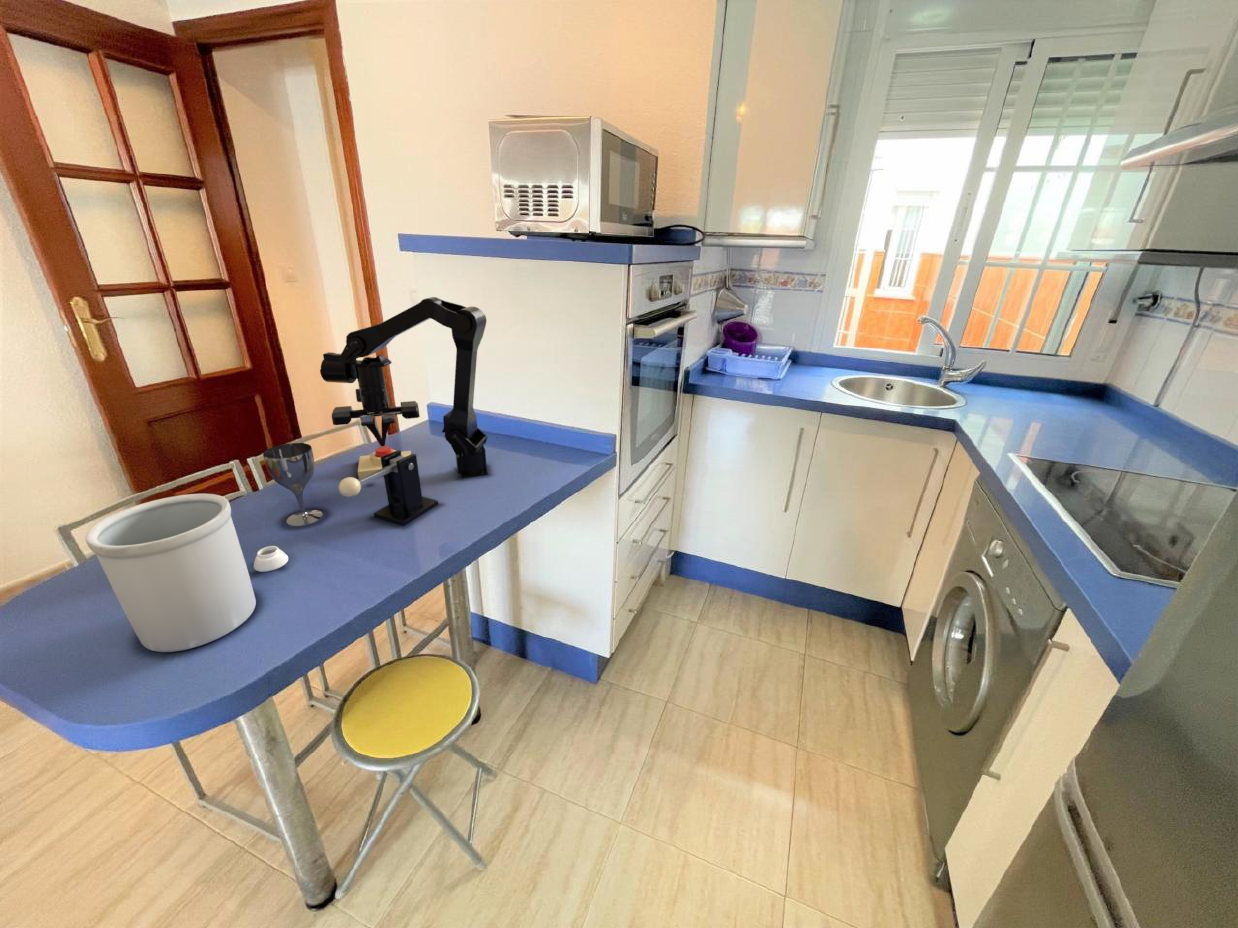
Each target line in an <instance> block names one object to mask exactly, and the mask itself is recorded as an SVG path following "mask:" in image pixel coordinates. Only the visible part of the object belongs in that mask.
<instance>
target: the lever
mask: <svg viewBox="0 0 1238 928" xmlns="http://www.w3.org/2000/svg"><path fill="white" fill-rule="evenodd" d="M402 458H404V456H398V457H396V458H393V459H391V460H390V465H389V466H386V467H384V468H382V469H380V470H378V471H375V472H373V473H371V474H369V475H366V476H364V477H362V478H358V479H357V478H355V477H351V476H349V477H345V478H343V479H341V480H340V482H339V483H338V491H339V493H340V494H341V495H342V496H344V497H347V498H353V497H355V496H357V495H358V494H359V493H360V492H361V490H362V486H364V485H366V484H368V483H370V482H373V481H374V480H377V479H379V478H381V477H384V475H386V474H388V473H390V472H392V471H393V472H398V470H397V464H396V461H398V460H400V459H402Z"/></svg>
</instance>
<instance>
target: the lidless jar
mask: <svg viewBox="0 0 1238 928" xmlns="http://www.w3.org/2000/svg"><path fill="white" fill-rule="evenodd" d="M288 562H289V555H287V554H286V553H285V552H284V551H283V550H282V549H280V548H279V547H278V546H276V545H269V546H268V545H267V546H265V547H262V548H261V549H259V550H258V551H257V553H256V556H255V559H254V563H253V569H254V571H257V572H261V573H262V572H270V571H275V570H277V569H280V568H282V567H283V566H285V565H286V564H287V563H288Z"/></svg>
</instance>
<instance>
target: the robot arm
mask: <svg viewBox="0 0 1238 928" xmlns="http://www.w3.org/2000/svg"><path fill="white" fill-rule="evenodd" d="M430 319H431V320H433V321H435V322H436V323H439V324H440V325H441V326H443V327H446V328H448V329H451V337H452V341H453V343H454V345H455V348H456V355H455V369H454V370H455V371H454V385H453V386H454V387H453V406H452V409H450V411H448V412H447V413H445V414H444V415H443V416H442V417H443V418H442V420H443V421H442V422H443V429H442V431H441V433H442V434H444V438H445V441H446V442H447V443H448V444H449V445H450V446H451V448H452V450H453V452H454V454H455V463H456V464H455V465H456V471H457V474H459V476H460V478H461V479H467V478H475V477H483V476H489V470H488V467H487V456H486V448H485V446H484V445H485V444H486V443H487V440H488V437H489V436H488V435H487V434H486V433H485V432H484V431H483V430H482V429H480V427H478V419H477V415H476V412H475V409H474V399H475V385H476V374H477V373H476V371H477V359H478V349H479V347H480V344H481V342H482V339H483V337H484V334H485V330H486V326H487V316H486V314H485V313H484V312H483V310H481V309H480V308H479V307H477V306H467V307H466V306H464V305H461V304H459V303H454V302H450V301H446V300H444V299H441V298H439V297H436V296H431V297H427V298H423V299H422V300H420V302H418V303H416V304H415V305H413V306H411V307H409V308H407V309H405V310H403V311H401V312H399V313H397V314H396V315H394V316H392V317H390V318H388V319H386V320H384V321H382V322H381V323H378V324H375V325H372V326H367V327H364V328H360V329H358V330H354V331H350V332H349V333H348V334H347V335H346V336H345V343H346V344H345V346H344V347H343V350H342V352H341V353H336V352H331V351H329V352H325V353H323V354H322V357H323V359H322V361H321V364H320V369H319V373H320V377H321V378H322V380H323V381H325V382H327V383H337V384H338V383H339V384H353V383H355V382H356V381H357V383H358V388H355V398H356V402H358V403H361V405H362V409H353V407H352V405H346V406H345V405H344V406H335V407H334V408H333V409H332V412H331V421H332V425H333V426H343V425H344V426H345V425H349V424H350V423H351V422H352V419H359V420H360V421H361V422H360V425H361V427H366V428H367V429H368V430H369V431H370V432H371V434H372V435H373V437H374V438H375V439H376V442H378V444H379V446H380V447H384V446H386V442H387V441H386V440H387V436H388V431H389V429H390V426H391V424H395V423H396V416H397V415H401V417H402V418H404V419H405V420H410V419H419V418H420V408H419V403H418V402H417V401H416V400H410V401H409V400H407V401H400V405H399V406H390V404H391V403H390V397H389V394H388V390H387V385H386V379H385V372H384V368H385V367H387V366H389V365H391V364H392V361H391V360H390V359H389V358H387V357H386V356H385V355H384V354H383V353H382V354H378V355H377V356H376V357H372V356H371V355H373V354H376V353H378V352H380V351H381V350H383V349H384V348H385V347H386V346H387V345H388V344H390V342H392V341H393V339H395V338H396V337H398V336H399V335H401V334H403V333H405V332H407V331H409V330H410V329H413V328H415V327H416V326H419V325H422V324H423V323H425V322H427V321H428V320H430ZM359 358H362V359H361V360H357V359H359ZM377 417H381V422H380V424H381V425H380V426H381V427H380V428H381V431H380V429H379V426H378V421H377Z"/></svg>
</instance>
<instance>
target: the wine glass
mask: <svg viewBox="0 0 1238 928" xmlns="http://www.w3.org/2000/svg"><path fill="white" fill-rule="evenodd" d="M262 456H263V460H264V463H265V467H266V469H267V471H268V473H269V475H270V476H271V478H272V479H273V481H274V482H275V483H276V484H278V485H279V486H281V487H283V488H285V489H286V490H289V491H290V492H291V493H292V494H294V496H295V498H296V500H297V503H298V505H299V506H298V507H299V510H300V511H299V512H295V513H294V514H291V516H289V517H288V518H287V519H286V524H288V525H289V526H293V527H295V526H296V527H297V526H298V527H299V526H306V525H309V524H312V523H315V522H318V521H319V520H320V519H321V518H322V517H323V512H322V511H320V510H317V509H308V510H306V508H305V503H304V490H305V489H306V486H307V485H308V484H309V482H310V481H311V480H312V478H313V476H314V474H315V456H314V451H313V448H312V446H311V445H310V444H308V443H305V442H291V443H283V444H279V445H276V446H273V447H270V448H267V449H266V450H265V451H264V452H263V453H262Z"/></svg>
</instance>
